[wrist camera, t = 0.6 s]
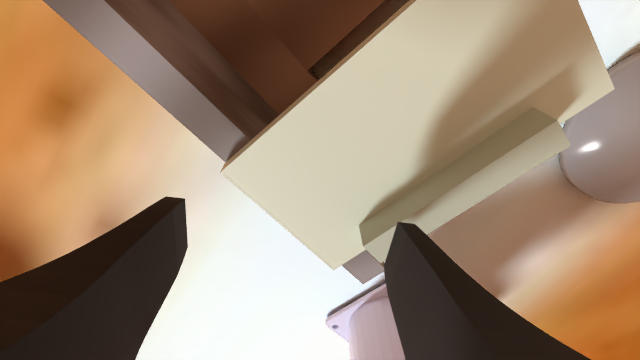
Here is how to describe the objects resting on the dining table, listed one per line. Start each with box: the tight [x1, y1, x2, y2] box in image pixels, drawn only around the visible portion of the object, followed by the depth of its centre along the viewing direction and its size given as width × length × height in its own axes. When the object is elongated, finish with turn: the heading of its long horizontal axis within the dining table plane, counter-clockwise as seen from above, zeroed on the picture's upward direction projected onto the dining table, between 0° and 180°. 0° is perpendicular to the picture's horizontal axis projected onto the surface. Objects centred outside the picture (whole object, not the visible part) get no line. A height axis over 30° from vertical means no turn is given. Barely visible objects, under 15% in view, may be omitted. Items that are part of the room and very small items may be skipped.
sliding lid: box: [221, 0, 615, 270], centre depth 12 cm, size 7×13×2 cm, turn 131°
